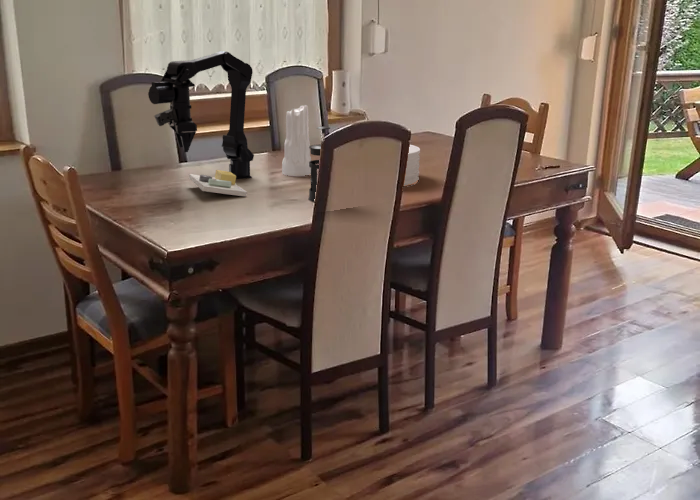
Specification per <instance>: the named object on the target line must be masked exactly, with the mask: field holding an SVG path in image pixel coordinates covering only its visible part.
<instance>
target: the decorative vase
mask: <svg viewBox="0 0 700 500" xmlns="http://www.w3.org/2000/svg"><path fill="white" fill-rule="evenodd" d="M308 106H309V105H308V104H304V105H299V107H298V108H295V107H292V108H291V110H287V111H286V115H285V126H286V127H285V140H284V157H283V158H282V161H281V162H282V163H281V171H282V172H281V174H282V175H283V174H284V175H283V176H287V175H288V176H287V177H306V176H305V175H309V174H311V168H310V167H309V162H310V161H312V157H311V149H310V148H309V146H311V139H310V136H309V135H310V131H309V130H310V129H309V127H310V121H309V120H310V113H309V107H308ZM309 176H310V175H309Z"/></svg>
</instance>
